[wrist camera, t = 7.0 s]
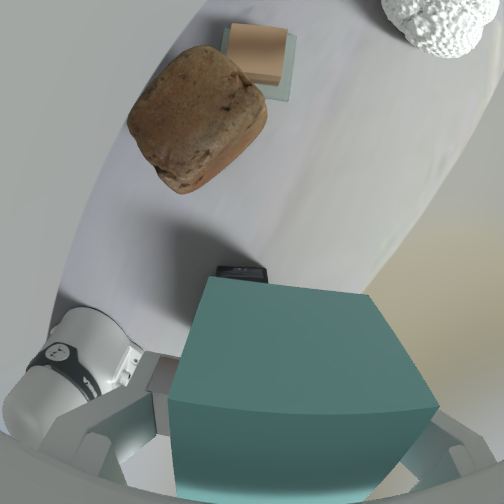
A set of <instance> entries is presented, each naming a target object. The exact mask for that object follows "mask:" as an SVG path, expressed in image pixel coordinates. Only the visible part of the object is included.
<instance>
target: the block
mask: <svg viewBox="0 0 504 504" xmlns="http://www.w3.org/2000/svg"><path fill="white" fill-rule="evenodd" d="M266 119H267V107H266V105H265V98H264V96H263V93H262V92H261V91H260V90H259V89H258V88H257V87H256V86H255V84H254V83H253V82H252V81H251V80H250V79H249V78H248V76H247V75H246V74H245V73H244V72H243V71H242V70H241V69H240V68H239V67H238V66H237V65H236V64H235V63H234V62H232V61H231V60H230V59H229V58H228V57H227V56H225V55H224V54H223V53H222V52H220V51H218V50H217V49H215V48H213V47H212V46H206V45H202V46H196V47H193V48H190V49H188V50H186V51H184V52H182V53H181V54H180V55H179V56H177V57H176V58H175V59H174V60H173V61H172V62H171V63H169V65H168V66H167V67H166V68H165V69H164V71H163V72H162V73H161V74H160V75H159V76H158V77H157V78H156V79H155V80H154V81H153V82H152V83H151V84H150V85H149V87H148V88H147V89H146V90H145V92H144V93H143V94H142V95H141V97H140V98H139V99H138V101H137V102H136V103H135V105H134V106H133V108H132V109H131V111H130V113H129V116H128V120H127V125H128V128H129V131H130V134H131V135H132V136H133V137H134V138H135V140H136V142H137V145H138V147H139V149H140V151H141V152H142V154H143V156H144V157H145V158H146V160H147V161H148V162H149V163H150V164H151V165H153V166H154V168H155V170H156V172H157V174H158V176H159V178H160V179H161V180H162V181H163V182H164V183H165V184H166V185H167V186H168V187H170V188H171V189H172V190H173V191H175V192H176V193H178V194H187V193H190V192H192V191H195V190H197V189H199V188H200V187H202V186H203V185H204V184H206V183H207V182H208V181H210V180H211V179H212V178H213V177H215V176H216V175H217V174H218V173H220V172H221V171H222V170H223V169H224V168H226V167H227V166H228V165H229V164H230V163H231V162H232V161H234V160H235V159H236V158H237V157H238V156H239V155H240V154H241V153H242V152H243V151H244V150H245V149H246V148H247V147H248V146H249V145H250V144H251V143H252V142H253V141H254V139H255V138H256V137H257V136H258V135H259V134H260V132H261V131H262V129H263V128H264V126H265V123H266Z"/></svg>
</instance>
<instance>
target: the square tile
mask: <svg viewBox="0 0 504 504" xmlns="http://www.w3.org/2000/svg"><path fill="white" fill-rule="evenodd" d="M230 31H231V28H224V32H223V38H222V44H221V50H220V52H222V53H223V54H224V55H225V56H226V54H227V48H228V42H229V36H230ZM296 39H297V36H294V35H288V34H287V38H286V46H285V54H284V61H283V69H282V77H281V80H280V82H279V85H278V87H277V86H270V85H262V84H255V86H256V87H257V88H258V89H259V90H260V91H261V92H262V93H263V96H264V98H267V99H274V100H281V101H289V96H290V88H291V80H292V72H293V64H294V56H295V47H296Z"/></svg>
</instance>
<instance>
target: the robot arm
mask: <svg viewBox="0 0 504 504" xmlns="http://www.w3.org/2000/svg"><path fill="white" fill-rule="evenodd" d="M50 335H51V336H50V337H49V339H48V340H47V341H46V343H45V344H44V346H43V347H42V349H41V350H40V352H39V353H38V354H37V355H36V357H35V358H34V359H32V360H31V362H30V364H29V365H28V367H27V369H26V373H25V375H24V376H23V377H22V378H21V379H20V381H19V382H18V383H17V384H16V385H15V387H14V388H13V389H12V390H11V392H10V393H9V394H8V395H7V397H6V398H5V400H4V403H3V408H2V413H3V418H4V422H5V425H6V427H7V429H8V431H9V433H10V435H11V436H9V435H7V434H6V433H4V432H2V431H1V430H0V504H215V503H207V502H200V501H194V500H188V499H182V498H176V497H172V496H167V495H162V494H158V493H153V492H149V491H145V490H141V489H137V488H134V487H130V486H128V485H127V482H126V480H125V478H124V475H123V473H122V470H121V467H120V464H122V463H123V462H124V461H125V460H127V459H128V458H129V457H131V456H132V455H133V454H134V453H136V452H137V451H138V450H139V449H141V448H142V447H143V446H144V445H145V444H147V443H148V442H149V441H150V440H152V439H153V438H154V437H155V436H156V434H160V435H165V436H170V427H169V414H168V395H169V392H170V389H171V386H172V383H173V380H174V377H175V374H176V371H177V368H178V365H179V362H180V359H181V358H180V357H175V356H170V355H166V354H160V353H155V352H151V351H145V352H143V350H142V349H141V348H139V347H138V346H137V345H135V344H134V343H133V342H131V341H130V340H129V339H128V338H127V336H126V335H125V333H124V332H123V331H122V329H121V328H120V327H119V326H118V325H117V324H116V323H115V322H114V321H113V320H111V319H110V318H109V317H107V316H106V315H104V314H103V313H101V312H99V311H97V310H94V309H91V308H86V307H77V308H73V309H71V310H69V311H68V312H67V313H66V314H65V315H64V316H63V318H62V320H61V322H60V323H59V324H58V325H56V326H54V327H53V328H52V330H51V331H50ZM136 359H137V360H136ZM400 462H401V463H402V464H403V465H404V466H405V467H406V468H408V470H410V471H411V472H412V473H413V474H414V475H415V476H416V477H417V478H418V479H419V480H420V481H419V482H418V483H417V484H416V485H415V486H414V487H413V488H412V489H411V490H410V492H409V493H406V494H401V495H397V496H392V497H387V498H382V499H376V500H371V501H364V502H357V503H349V504H504V460H502V461H500V462H498V463H497V461H496V459H495V458H494V456H493V454H492V452H491V451H490V449H489V447H488V445H487V444H486V442H485V440H484V439H483V437H482V436H480V435H479V434H477V433H475V432H474V431H472V430H471V429H469V428H467V427H466V426H464V425H463V424H461V423H459V422H458V421H456V420H455V419H453V418H451V417H450V416H448V415H447V414H445V413H444V412H442V411H441V410H439V409H438V410H437V412H436V413H435V414H434V416H433V417H432V419H431V420H430V422H429V423H428V425H427V426H426V427H425V429H424V430H423V432H422V433H421V434H420V436H419V437H418V438H417V440H416V441H415V442H414V444H413V445H412V446H411V447H410V449H409V450H408V451H407V453H406V454H405V455H404V456H403V457H402V459H401V460H400Z"/></svg>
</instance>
